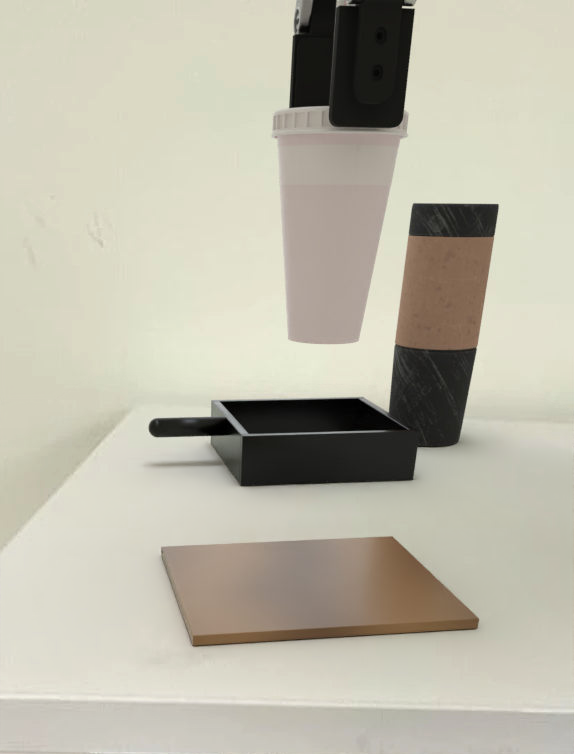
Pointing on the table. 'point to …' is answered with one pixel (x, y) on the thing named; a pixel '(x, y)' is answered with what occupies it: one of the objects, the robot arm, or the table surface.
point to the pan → (303, 440)
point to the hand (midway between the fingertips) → (340, 128)
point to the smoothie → (331, 218)
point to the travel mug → (440, 316)
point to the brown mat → (308, 590)
